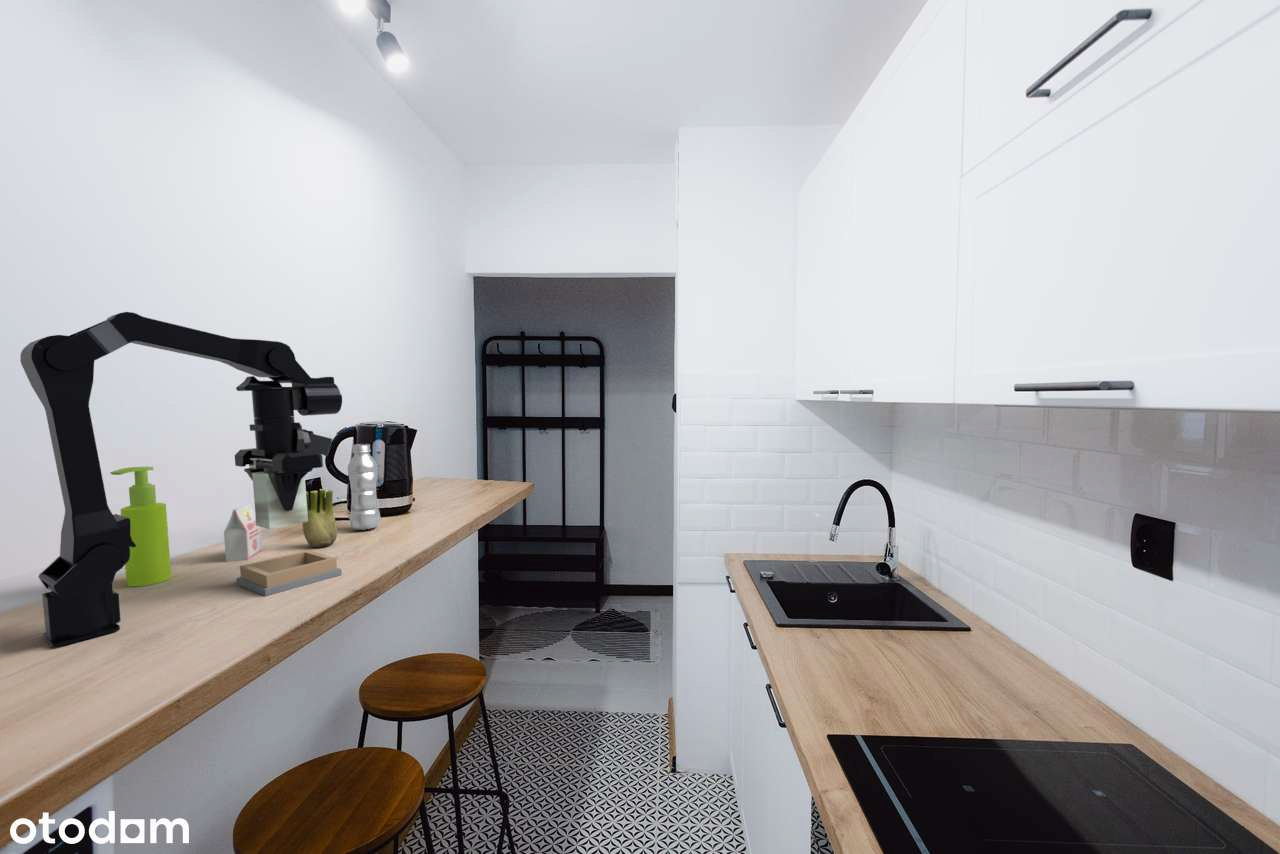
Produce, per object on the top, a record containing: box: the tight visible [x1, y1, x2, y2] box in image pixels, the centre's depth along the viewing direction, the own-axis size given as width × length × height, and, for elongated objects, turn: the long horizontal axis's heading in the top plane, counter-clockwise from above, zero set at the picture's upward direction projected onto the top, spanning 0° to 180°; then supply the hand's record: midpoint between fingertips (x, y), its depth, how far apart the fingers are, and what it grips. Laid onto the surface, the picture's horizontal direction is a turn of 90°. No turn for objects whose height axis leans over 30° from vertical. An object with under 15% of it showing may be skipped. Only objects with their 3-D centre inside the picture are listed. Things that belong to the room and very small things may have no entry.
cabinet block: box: [252, 467, 308, 530], centre depth 96 cm, size 6×5×10 cm
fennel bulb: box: [302, 488, 338, 548], centre depth 119 cm, size 6×5×12 cm
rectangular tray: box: [235, 549, 342, 597], centre depth 97 cm, size 12×11×3 cm
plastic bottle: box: [347, 443, 381, 531], centre depth 133 cm, size 6×7×20 cm
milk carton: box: [223, 503, 263, 563], centre depth 112 cm, size 4×7×10 cm, turn 14°
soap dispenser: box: [109, 466, 172, 587], centre depth 97 cm, size 6×7×20 cm
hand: (281, 509), depth 96 cm, fingers closed on cabinet block, 5 cm apart
